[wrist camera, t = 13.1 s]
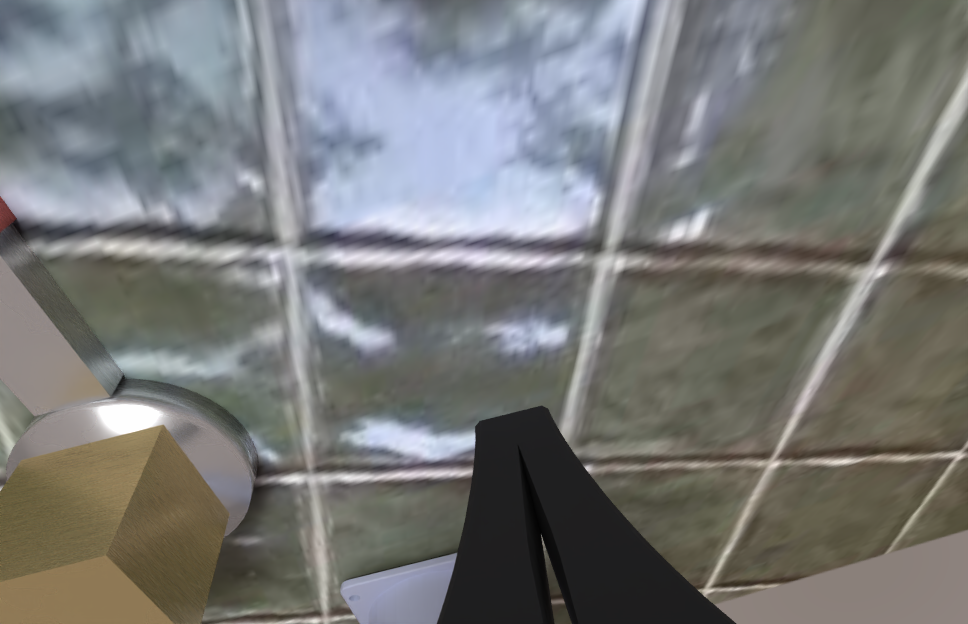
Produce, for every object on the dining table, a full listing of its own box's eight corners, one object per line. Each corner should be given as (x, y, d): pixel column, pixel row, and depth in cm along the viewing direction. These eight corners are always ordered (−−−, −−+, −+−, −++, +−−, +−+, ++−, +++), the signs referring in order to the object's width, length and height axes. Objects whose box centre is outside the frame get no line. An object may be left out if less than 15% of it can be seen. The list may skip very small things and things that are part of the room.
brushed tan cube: (229, 514, 23) (195, 644, 19) (104, 545, 23) (43, 682, 19) (163, 424, 20) (106, 555, 16) (21, 460, 20) (-72, 599, 16)
